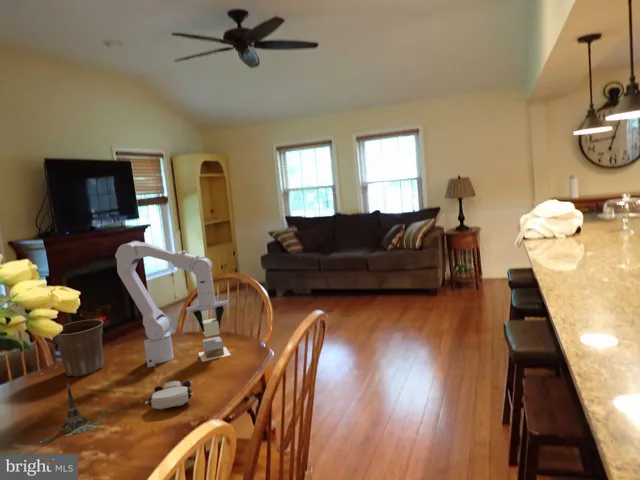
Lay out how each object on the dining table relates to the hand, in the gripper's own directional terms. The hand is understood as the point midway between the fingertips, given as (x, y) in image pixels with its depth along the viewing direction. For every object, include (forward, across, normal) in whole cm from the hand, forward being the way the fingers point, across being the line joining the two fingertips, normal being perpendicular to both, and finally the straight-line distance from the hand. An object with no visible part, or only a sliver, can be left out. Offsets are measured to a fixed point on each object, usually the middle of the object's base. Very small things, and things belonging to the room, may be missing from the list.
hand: (210, 329), depth 165 cm
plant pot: (+10, -43, +16) cm, 47 cm away
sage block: (+2, 0, 0) cm, 2 cm away
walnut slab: (+9, 0, 0) cm, 9 cm away
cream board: (+10, 0, 0) cm, 10 cm away
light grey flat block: (+7, 0, 0) cm, 7 cm away
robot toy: (+10, -17, -29) cm, 35 cm away
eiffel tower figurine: (+11, -42, -29) cm, 52 cm away
